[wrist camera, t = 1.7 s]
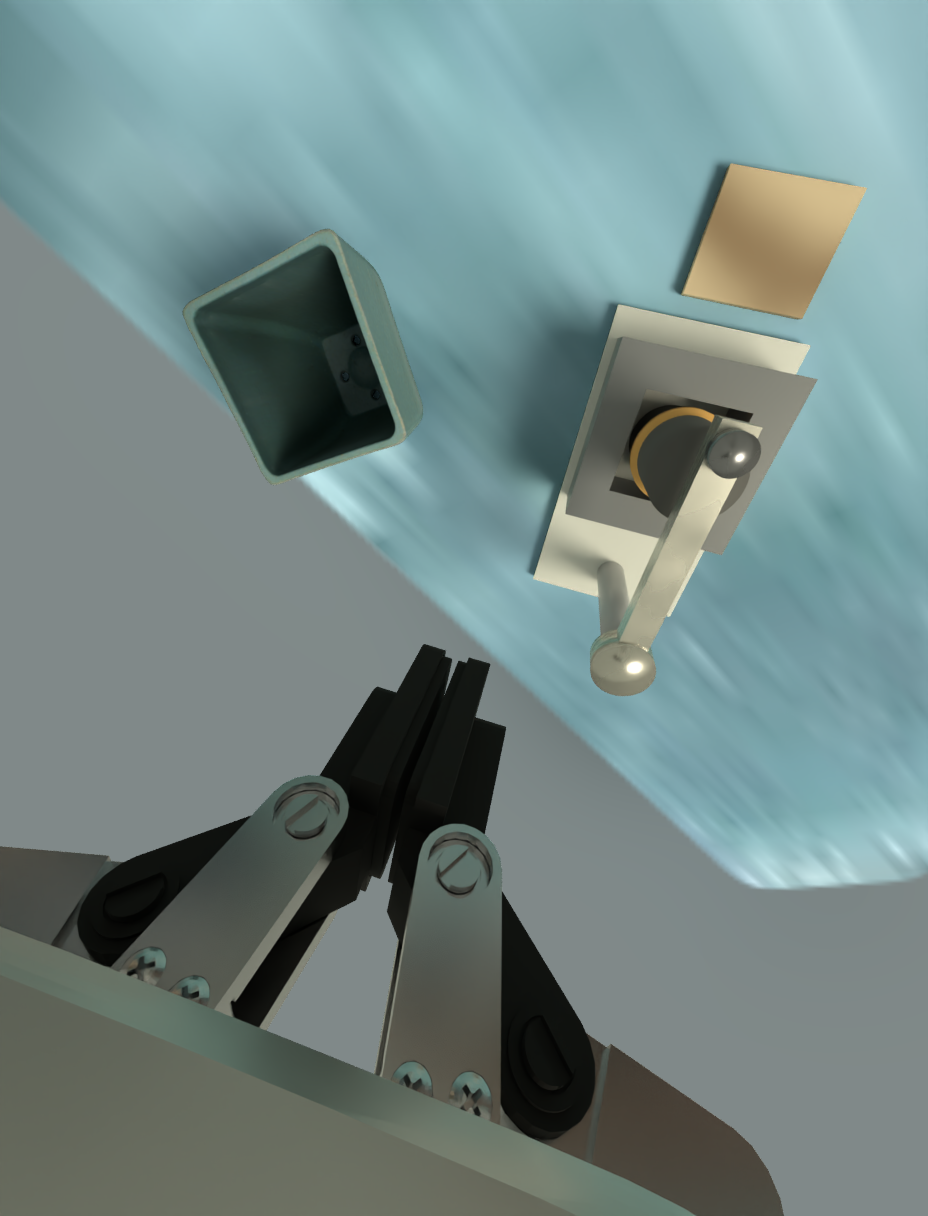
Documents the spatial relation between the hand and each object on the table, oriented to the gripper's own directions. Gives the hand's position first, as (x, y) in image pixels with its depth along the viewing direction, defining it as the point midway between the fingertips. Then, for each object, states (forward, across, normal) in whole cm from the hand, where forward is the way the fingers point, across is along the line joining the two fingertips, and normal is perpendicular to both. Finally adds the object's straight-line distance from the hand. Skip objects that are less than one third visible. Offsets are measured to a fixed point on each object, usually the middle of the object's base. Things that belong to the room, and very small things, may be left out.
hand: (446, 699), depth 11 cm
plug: (+22, -7, -4) cm, 23 cm away
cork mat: (+22, -8, -14) cm, 28 cm away
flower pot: (+23, +12, -4) cm, 26 cm away
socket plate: (+23, -7, -2) cm, 24 cm away
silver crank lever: (+12, -7, 0) cm, 14 cm away
